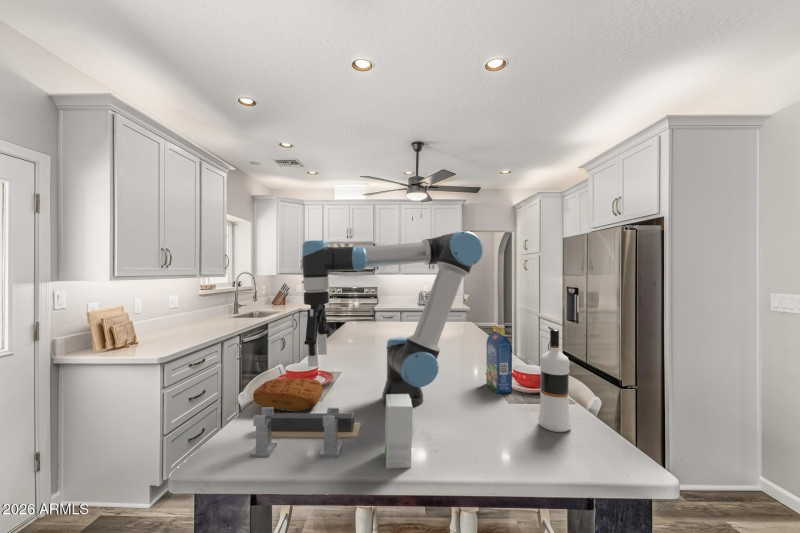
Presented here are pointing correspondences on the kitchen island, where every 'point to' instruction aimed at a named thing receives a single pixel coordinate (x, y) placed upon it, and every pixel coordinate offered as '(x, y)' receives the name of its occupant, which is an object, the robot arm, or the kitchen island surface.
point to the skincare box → (398, 431)
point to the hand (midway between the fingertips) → (318, 360)
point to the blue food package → (499, 361)
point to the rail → (308, 422)
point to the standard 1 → (263, 433)
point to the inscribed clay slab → (288, 394)
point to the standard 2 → (331, 434)
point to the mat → (315, 433)
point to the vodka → (554, 388)
